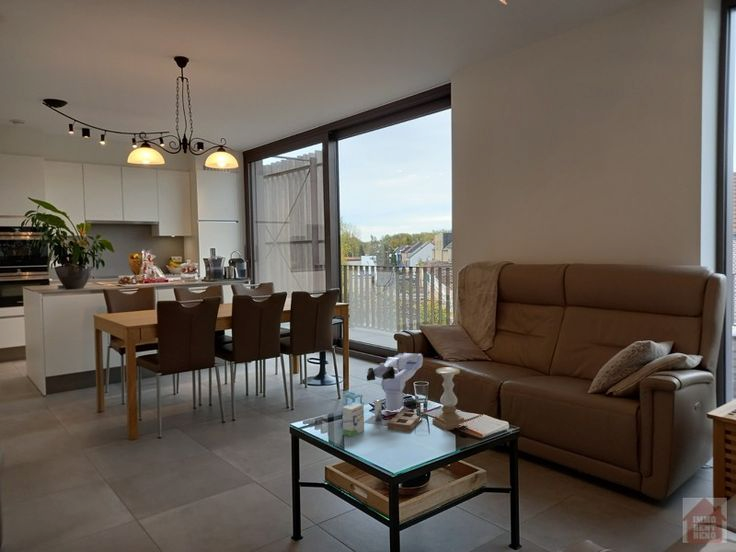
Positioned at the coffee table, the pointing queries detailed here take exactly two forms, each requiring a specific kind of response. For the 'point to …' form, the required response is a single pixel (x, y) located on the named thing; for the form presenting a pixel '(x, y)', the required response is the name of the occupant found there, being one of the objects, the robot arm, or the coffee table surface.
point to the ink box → (353, 419)
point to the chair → (352, 396)
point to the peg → (378, 410)
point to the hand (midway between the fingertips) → (375, 377)
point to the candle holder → (448, 401)
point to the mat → (372, 421)
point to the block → (403, 421)
